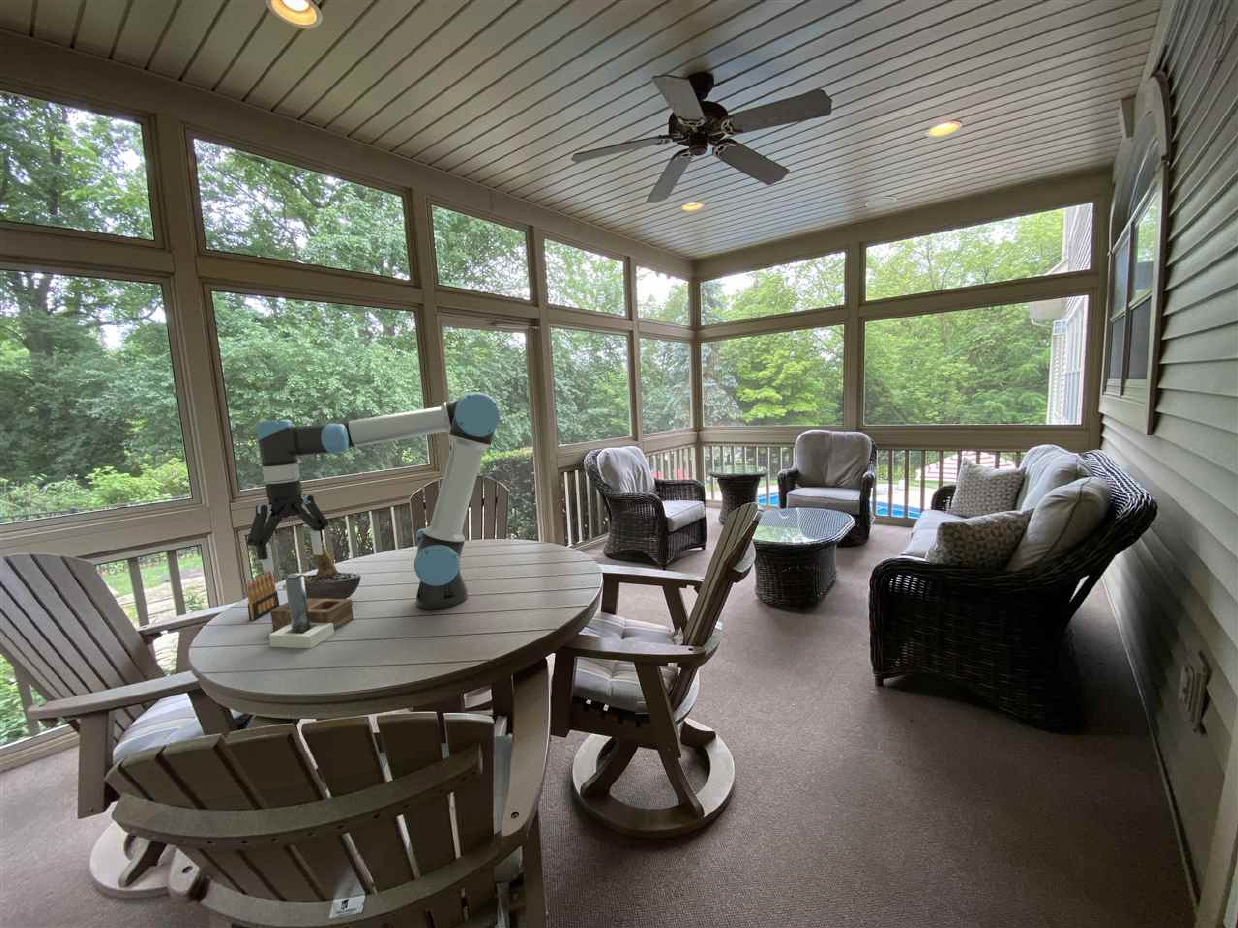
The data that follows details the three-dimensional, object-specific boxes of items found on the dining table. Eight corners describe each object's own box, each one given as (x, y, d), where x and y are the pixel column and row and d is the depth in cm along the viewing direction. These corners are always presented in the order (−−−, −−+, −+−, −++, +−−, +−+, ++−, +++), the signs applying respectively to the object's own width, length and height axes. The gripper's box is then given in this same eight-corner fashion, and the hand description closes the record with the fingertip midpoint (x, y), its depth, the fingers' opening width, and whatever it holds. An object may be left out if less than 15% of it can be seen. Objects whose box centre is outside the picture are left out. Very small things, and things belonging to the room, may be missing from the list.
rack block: (334, 633, 136) (332, 623, 136) (311, 647, 128) (309, 636, 128) (295, 632, 138) (293, 621, 138) (270, 646, 131) (268, 635, 130)
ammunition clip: (255, 620, 148) (249, 581, 147) (249, 621, 148) (243, 581, 147) (279, 606, 159) (274, 569, 157) (273, 606, 159) (268, 569, 157)
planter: (290, 606, 157) (282, 544, 155) (348, 590, 170) (341, 532, 167) (305, 619, 147) (296, 552, 145) (365, 600, 159) (358, 538, 157)
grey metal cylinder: (314, 632, 135) (307, 571, 133) (303, 640, 131) (294, 577, 129) (301, 632, 136) (293, 571, 133) (289, 639, 132) (281, 577, 130)
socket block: (353, 619, 145) (351, 599, 144) (330, 633, 136) (328, 612, 136) (298, 617, 148) (296, 598, 148) (273, 631, 140) (270, 610, 139)
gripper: (316, 473, 141) (326, 547, 144) (219, 490, 118) (234, 578, 121) (336, 473, 139) (346, 548, 141) (241, 490, 116) (256, 580, 118)
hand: (294, 562), depth 131 cm, fingers open, 13 cm apart
